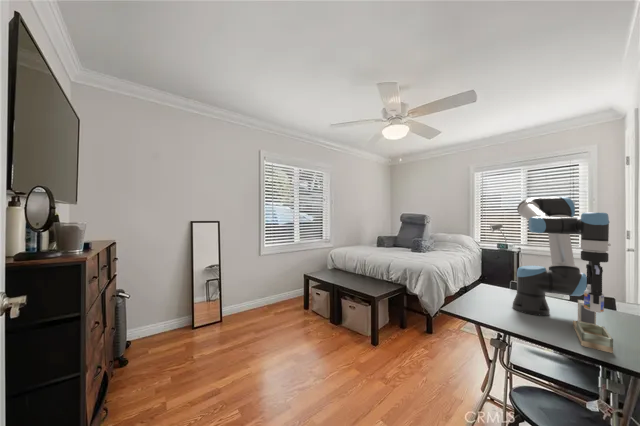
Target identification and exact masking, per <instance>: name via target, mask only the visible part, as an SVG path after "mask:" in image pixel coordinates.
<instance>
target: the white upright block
mask: <svg viewBox="0 0 640 426" xmlns="http://www.w3.org/2000/svg"><path fill="white" fill-rule="evenodd" d="M577 321H578V322H582V323H587V324H592V325H597V312H593V311H589V310H587V309H585V308H584V299H583V300H582V299H577Z"/></svg>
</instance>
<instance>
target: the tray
mask: <svg viewBox="0 0 640 426" xmlns="http://www.w3.org/2000/svg"><path fill="white" fill-rule="evenodd" d="M572 327H573V328H574V330H575V333H576V335H577V338H578V340H579V342H580V345H581V346H582V347H586V348H590V349H593V350H598V351H603V352H606V353H609V354H610V353H611V354H614V338H613V336H611V334H610V333H609V332H608V330H607V329H606V327H605V326H602V325H598V324H596V325H592V324H587V323H582V322H578V320H572Z"/></svg>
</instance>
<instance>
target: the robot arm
mask: <svg viewBox="0 0 640 426" xmlns="http://www.w3.org/2000/svg"><path fill="white" fill-rule="evenodd" d="M516 210H517V213H518V215H520V216H521V217H522V218H523V219H524V218H525V219H526V220H527V221H528V224H527V225H528V231H529V232H530V233H532V234H533V233H535V234H547V235H548V243H549V251H550V261H551V264H550V265H549V266H548V269H547V268H546V266H542V265H522V266H520V267H518V268H517V269H516V270H517V271H516V295H515V297H514V299H513V301H512V308H513V309H514V310H516V311H518V312H521V313H525V314H529V315H533V316H534V315H535V316H539V317H540V316H544V317H545V316H549V315H550V313H551V312H550V311H551V310H550V307H549V304H548V302H547V299H546V293H547V294H548V293H549V294H555V295H556V294H557V295H564V296H569V297H571V296H573V297H574V296H575V297H581V296H583V295H584V291H585V290H587V289H588V288H587V285H588V284H590V285H591V293H589V294H590V311H593V312H596V313H599V314H601V313H602V312H601V295H602V293H603V272H604V269H603V266H602V265H601V263H608V262H609V253H608V251H609V247H611V243H609V242H610V241H609V238H610V231H609V229H610V227H609V226H610V220H609V219H610V217H609V214H608V213H606V212H582V213H581V216H578V217H574V216H575V214H576V206H575V203H574V201H573V200H572V198H570V197H568V196H541V197H540V196H533V197H529V198H526V199H524V200H522V201H521V202H519V203H518V205H517V208H516ZM571 235H576V236H577V235H580V249H581V251H580V259H581V260H582V261H586V262H588V263H586V266H585V269H586V273H583V272H581V271H580V267H578V266H577V265H575V260H574V259H575V258H574V252H573V247H572V240H571ZM597 291H598V292H597Z"/></svg>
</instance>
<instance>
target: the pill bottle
mask: <svg viewBox="0 0 640 426" xmlns="http://www.w3.org/2000/svg"><path fill="white" fill-rule="evenodd" d="M587 288H588V289H587ZM587 288H586V290H585V291H584V294H583V295H584V297H583V301H584V308H585V309H587V310H589V311H590V294H589V293H591V285H590V284H588V285H587ZM597 292H598V291H597ZM604 308H605V293H604V292H602V295H601V313H604V311H605V309H604Z"/></svg>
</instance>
